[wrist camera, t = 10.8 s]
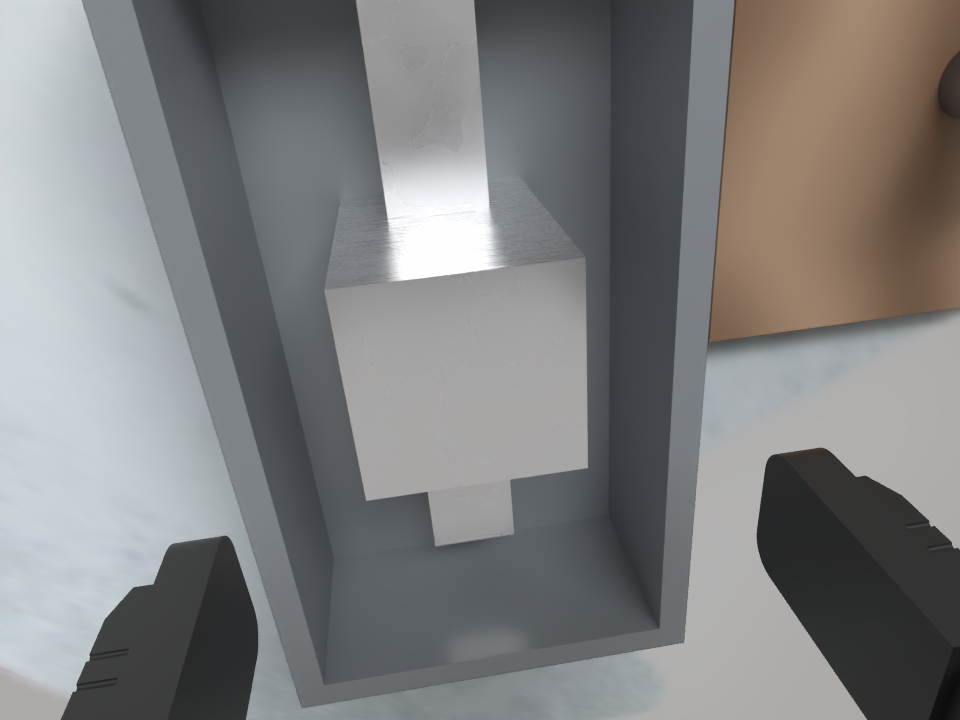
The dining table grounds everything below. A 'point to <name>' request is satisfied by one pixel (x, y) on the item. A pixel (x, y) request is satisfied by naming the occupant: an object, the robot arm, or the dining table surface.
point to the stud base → (838, 165)
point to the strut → (452, 292)
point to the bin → (310, 342)
